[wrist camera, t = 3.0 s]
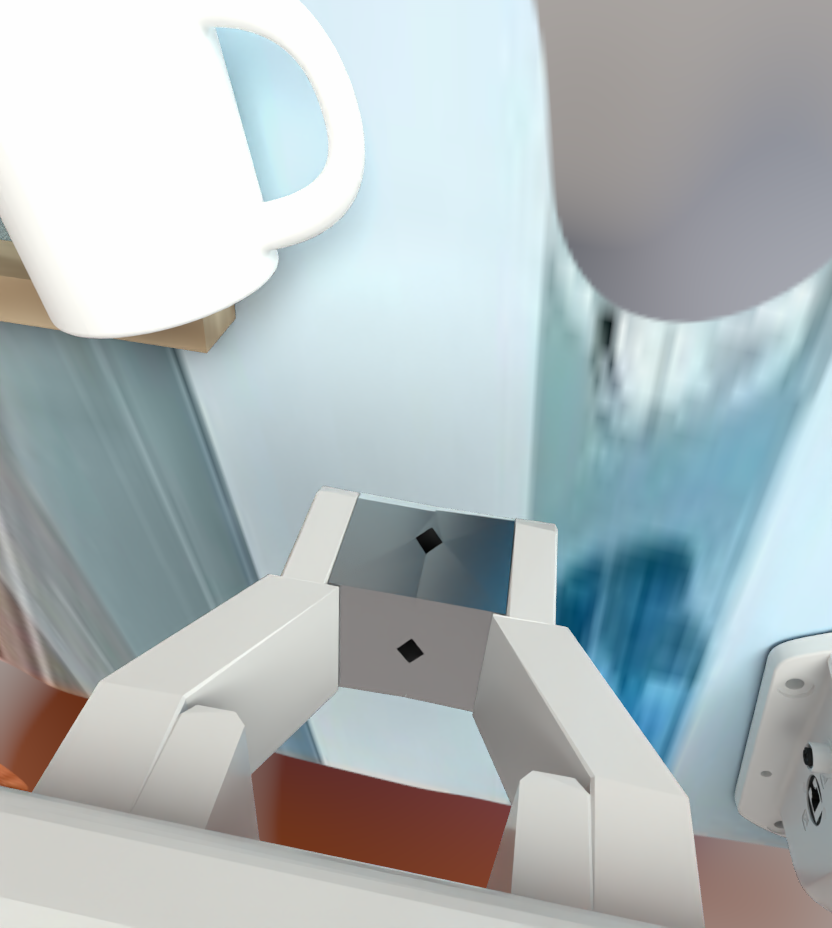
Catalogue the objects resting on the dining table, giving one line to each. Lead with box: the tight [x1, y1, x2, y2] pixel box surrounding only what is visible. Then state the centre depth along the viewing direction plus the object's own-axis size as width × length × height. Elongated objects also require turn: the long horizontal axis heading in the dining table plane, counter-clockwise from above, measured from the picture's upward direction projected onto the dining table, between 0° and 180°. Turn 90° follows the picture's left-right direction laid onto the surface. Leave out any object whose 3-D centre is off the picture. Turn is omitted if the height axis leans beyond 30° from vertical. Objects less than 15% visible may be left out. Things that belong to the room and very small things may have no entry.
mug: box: [0, 0, 365, 339], centre depth 23 cm, size 12×10×8 cm
